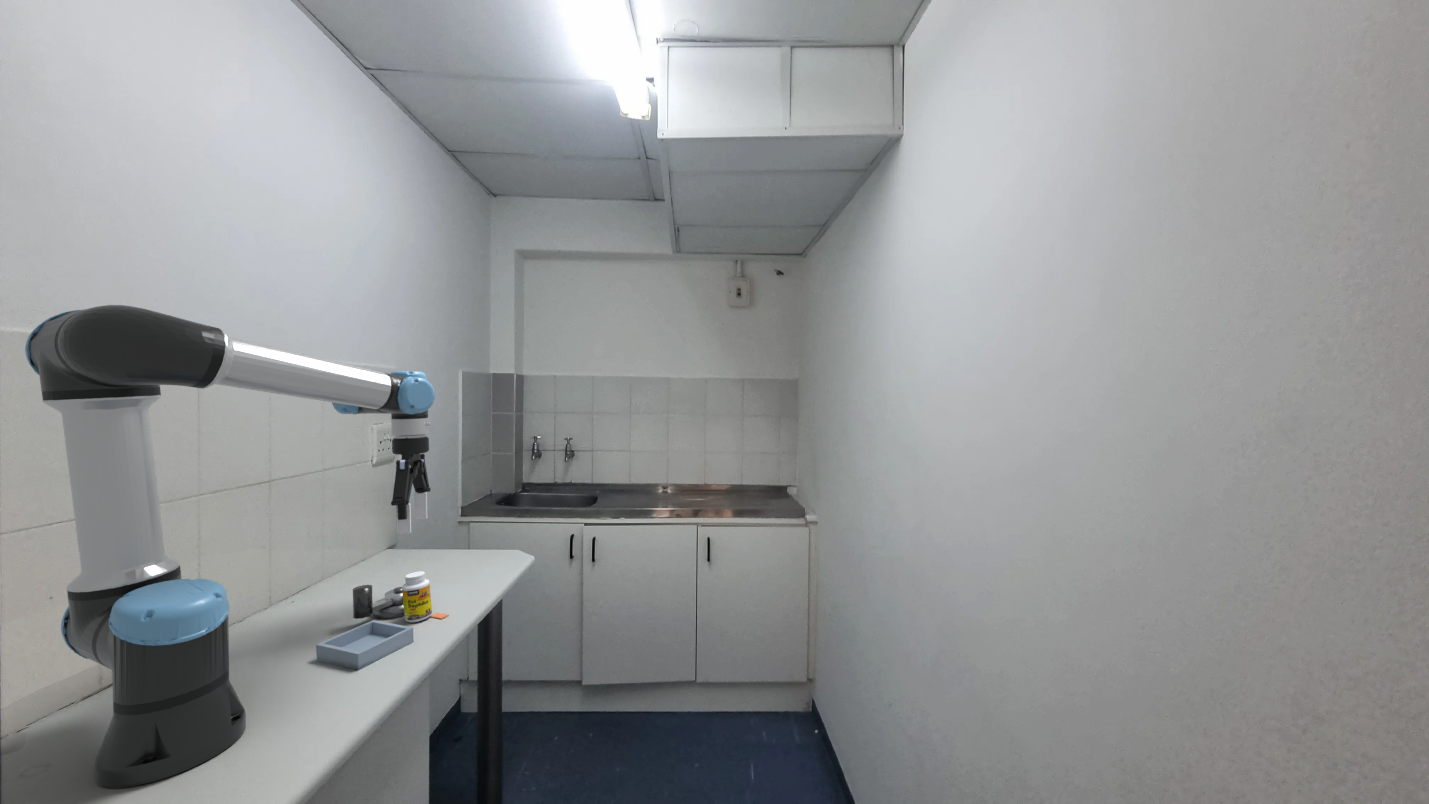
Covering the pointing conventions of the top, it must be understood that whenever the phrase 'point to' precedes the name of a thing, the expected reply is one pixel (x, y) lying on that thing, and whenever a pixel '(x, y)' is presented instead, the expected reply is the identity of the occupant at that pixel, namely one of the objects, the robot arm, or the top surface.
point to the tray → (364, 644)
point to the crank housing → (389, 612)
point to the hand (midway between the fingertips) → (413, 525)
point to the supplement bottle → (416, 597)
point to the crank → (364, 602)
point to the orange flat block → (439, 615)
